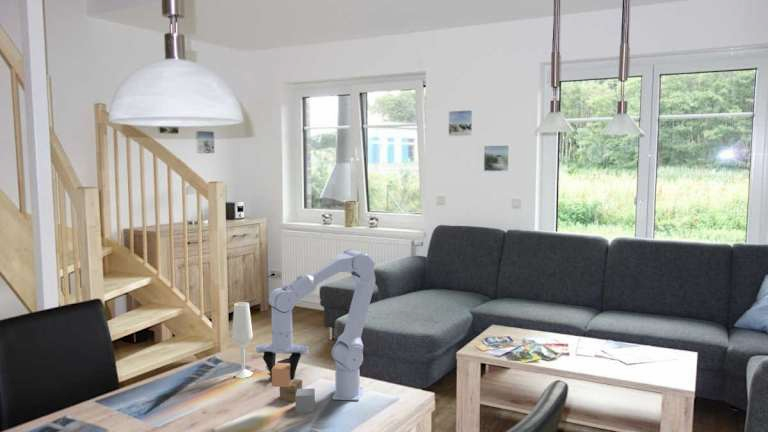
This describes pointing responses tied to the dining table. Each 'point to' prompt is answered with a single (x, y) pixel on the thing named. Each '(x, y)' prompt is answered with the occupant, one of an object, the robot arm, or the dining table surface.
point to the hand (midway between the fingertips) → (283, 378)
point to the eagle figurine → (280, 362)
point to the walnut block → (290, 391)
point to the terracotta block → (281, 375)
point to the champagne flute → (242, 333)
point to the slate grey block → (305, 400)
